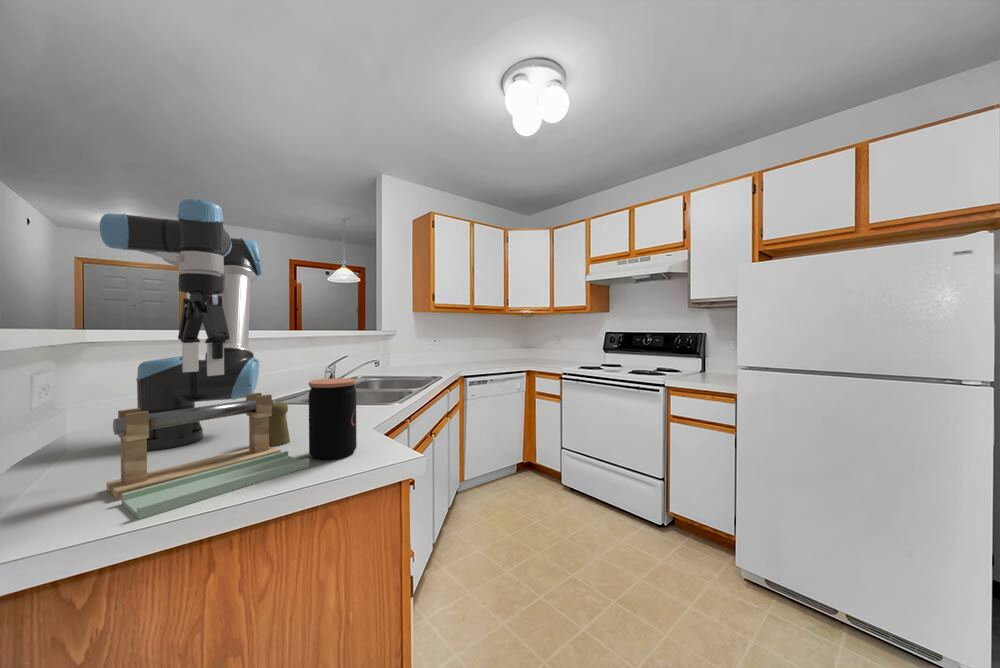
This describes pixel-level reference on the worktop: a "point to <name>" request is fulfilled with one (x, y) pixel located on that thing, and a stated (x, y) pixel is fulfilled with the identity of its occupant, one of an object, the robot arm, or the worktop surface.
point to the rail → (191, 415)
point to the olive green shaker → (278, 425)
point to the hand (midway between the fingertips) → (202, 373)
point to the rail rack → (136, 463)
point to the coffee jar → (332, 418)
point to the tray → (208, 484)
